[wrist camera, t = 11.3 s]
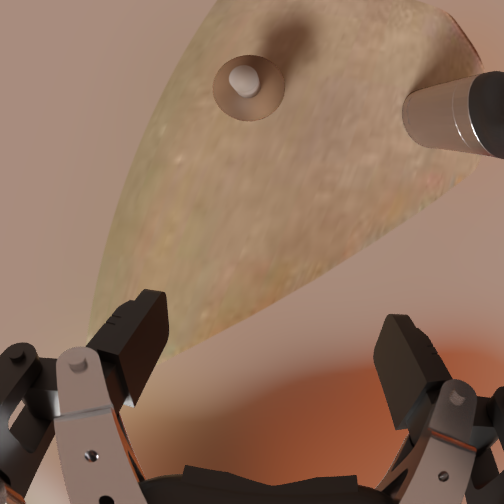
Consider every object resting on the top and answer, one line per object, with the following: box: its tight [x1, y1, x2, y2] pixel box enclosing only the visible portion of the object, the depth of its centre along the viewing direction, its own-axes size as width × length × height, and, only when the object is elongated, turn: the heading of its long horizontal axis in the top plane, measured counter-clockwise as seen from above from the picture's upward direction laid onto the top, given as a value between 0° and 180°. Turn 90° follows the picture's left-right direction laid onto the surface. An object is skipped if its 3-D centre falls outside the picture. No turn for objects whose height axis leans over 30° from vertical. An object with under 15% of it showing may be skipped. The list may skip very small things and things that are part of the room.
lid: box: [213, 55, 285, 121], centre depth 25 cm, size 8×8×5 cm
